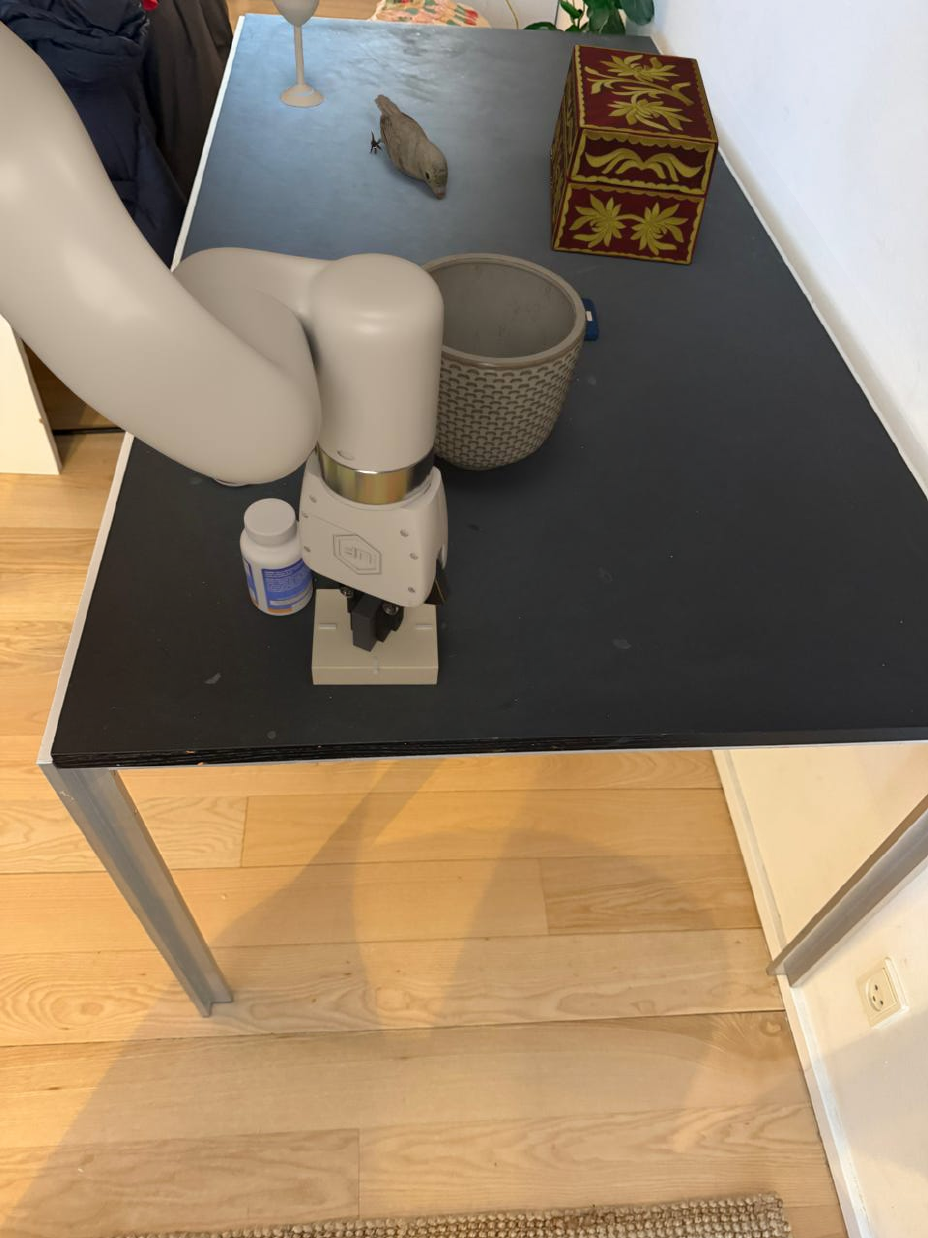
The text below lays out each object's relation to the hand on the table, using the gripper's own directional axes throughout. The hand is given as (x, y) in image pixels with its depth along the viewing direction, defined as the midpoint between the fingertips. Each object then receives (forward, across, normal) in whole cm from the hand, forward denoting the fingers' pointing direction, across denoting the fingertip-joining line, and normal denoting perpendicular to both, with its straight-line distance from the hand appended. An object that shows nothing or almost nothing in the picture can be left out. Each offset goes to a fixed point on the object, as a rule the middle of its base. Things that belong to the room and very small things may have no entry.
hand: (375, 622), depth 70 cm
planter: (+3, -2, +27) cm, 28 cm away
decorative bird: (+3, -32, +75) cm, 81 cm away
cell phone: (+3, -4, +51) cm, 51 cm away
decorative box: (+3, -4, +82) cm, 83 cm away
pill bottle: (+3, -10, +1) cm, 10 cm away
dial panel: (+3, 0, 0) cm, 3 cm away
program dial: (+1, 0, 0) cm, 1 cm away
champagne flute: (+3, -57, +88) cm, 104 cm away
